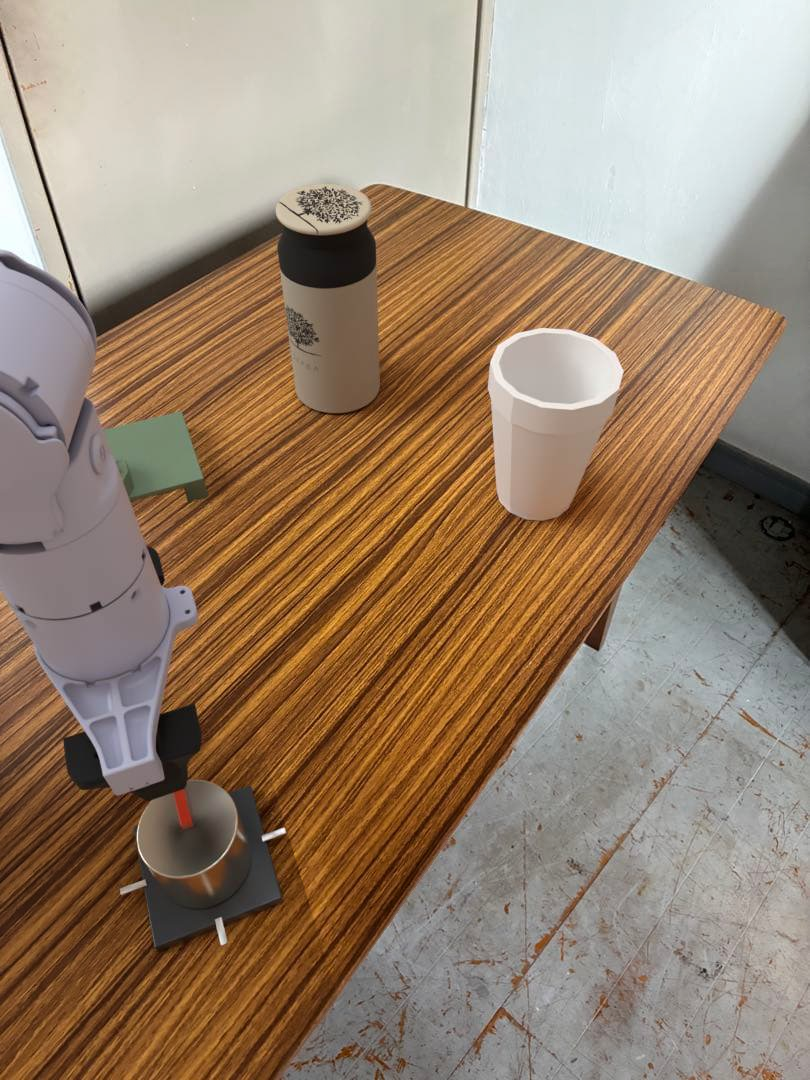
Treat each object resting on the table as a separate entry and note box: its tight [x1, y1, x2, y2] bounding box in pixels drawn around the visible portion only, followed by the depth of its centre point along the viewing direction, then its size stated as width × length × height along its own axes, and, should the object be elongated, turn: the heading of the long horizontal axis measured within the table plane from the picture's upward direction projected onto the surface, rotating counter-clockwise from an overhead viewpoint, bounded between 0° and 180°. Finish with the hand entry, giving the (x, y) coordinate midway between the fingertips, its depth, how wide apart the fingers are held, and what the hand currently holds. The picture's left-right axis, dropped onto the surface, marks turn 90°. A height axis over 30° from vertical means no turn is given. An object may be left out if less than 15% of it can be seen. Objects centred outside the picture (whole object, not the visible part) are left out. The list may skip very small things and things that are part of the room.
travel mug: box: [275, 183, 381, 414], centre depth 70 cm, size 8×8×18 cm
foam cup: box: [487, 327, 625, 522], centre depth 63 cm, size 10×9×13 cm
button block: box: [103, 410, 209, 503], centre depth 67 cm, size 11×10×4 cm
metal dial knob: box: [136, 779, 251, 909], centre depth 44 cm, size 5×5×5 cm
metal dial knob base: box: [119, 785, 287, 952], centre depth 47 cm, size 9×9×3 cm
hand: (152, 724), depth 43 cm, fingers open, 7 cm apart
